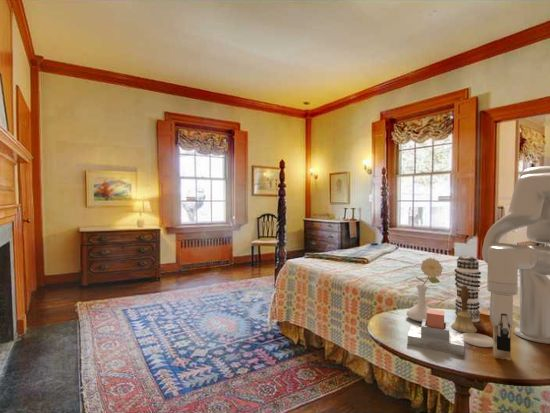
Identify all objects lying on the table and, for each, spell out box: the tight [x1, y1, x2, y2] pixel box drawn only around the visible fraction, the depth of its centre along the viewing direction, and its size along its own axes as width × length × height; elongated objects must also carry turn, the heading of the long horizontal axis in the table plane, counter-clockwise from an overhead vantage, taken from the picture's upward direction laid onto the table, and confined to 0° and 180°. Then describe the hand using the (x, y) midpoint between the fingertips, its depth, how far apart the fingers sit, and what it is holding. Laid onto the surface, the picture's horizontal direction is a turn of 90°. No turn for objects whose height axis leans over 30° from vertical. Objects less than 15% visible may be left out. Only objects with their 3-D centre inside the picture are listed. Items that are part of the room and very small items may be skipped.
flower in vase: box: [406, 257, 444, 323], centre depth 129 cm, size 13×11×25 cm
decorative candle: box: [454, 255, 482, 323], centre depth 132 cm, size 9×9×25 cm
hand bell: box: [450, 286, 478, 333], centre depth 121 cm, size 8×8×16 cm
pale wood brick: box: [492, 324, 512, 361], centre depth 99 cm, size 4×4×10 cm
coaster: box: [461, 332, 493, 348], centre depth 110 cm, size 10×10×1 cm
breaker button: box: [427, 308, 445, 329], centre depth 107 cm, size 5×5×4 cm
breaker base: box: [407, 319, 465, 356], centre depth 107 cm, size 16×10×6 cm, turn 61°
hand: (501, 344), depth 99 cm, fingers open, 8 cm apart
